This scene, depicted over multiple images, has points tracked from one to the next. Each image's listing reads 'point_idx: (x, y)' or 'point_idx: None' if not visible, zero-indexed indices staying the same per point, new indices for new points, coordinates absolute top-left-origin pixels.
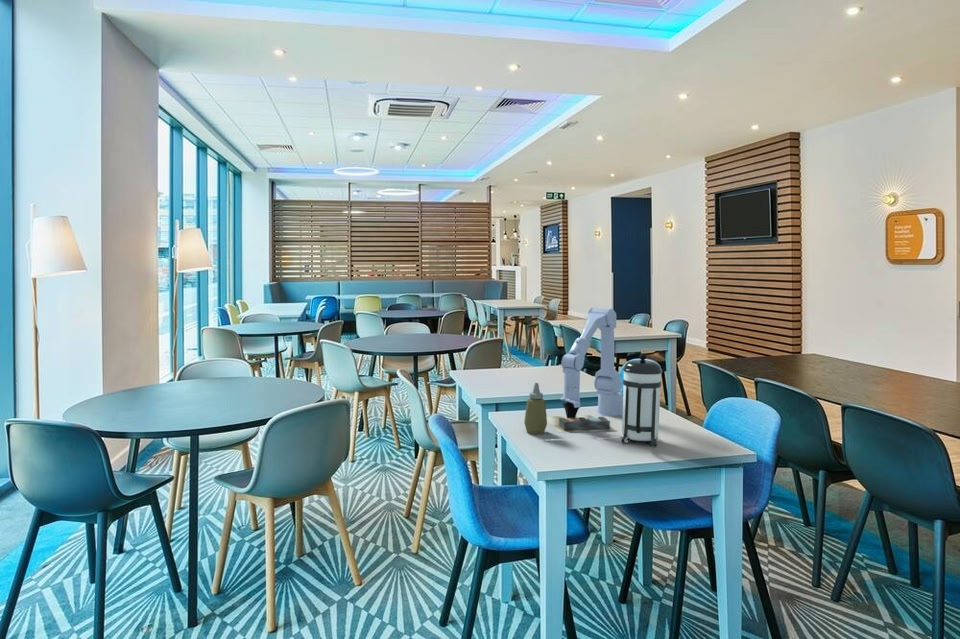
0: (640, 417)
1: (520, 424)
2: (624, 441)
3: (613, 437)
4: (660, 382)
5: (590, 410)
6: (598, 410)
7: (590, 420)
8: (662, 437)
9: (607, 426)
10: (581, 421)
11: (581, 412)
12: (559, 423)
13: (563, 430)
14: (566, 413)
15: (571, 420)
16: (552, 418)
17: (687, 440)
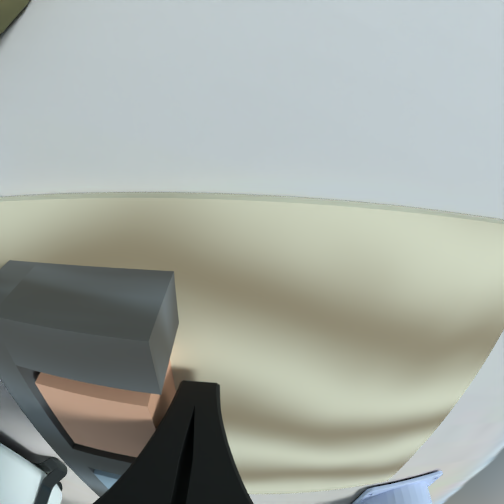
0: None
1: None
2: None
3: (18, 424)
4: None
5: (469, 457)
6: (410, 494)
7: (97, 474)
8: (76, 494)
9: None
10: (48, 433)
11: (473, 438)
12: (145, 289)
13: (13, 255)
14: (201, 458)
15: (51, 398)
16: (475, 294)
17: (68, 500)
